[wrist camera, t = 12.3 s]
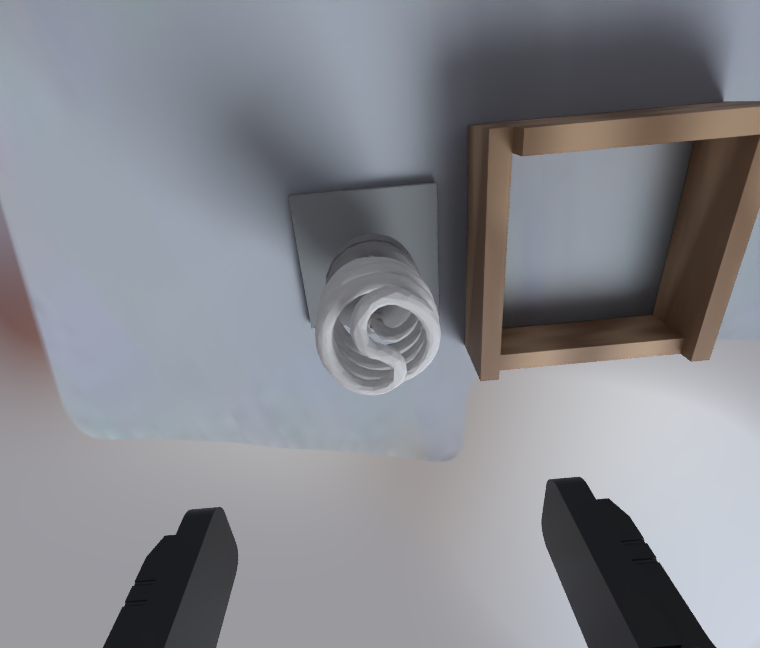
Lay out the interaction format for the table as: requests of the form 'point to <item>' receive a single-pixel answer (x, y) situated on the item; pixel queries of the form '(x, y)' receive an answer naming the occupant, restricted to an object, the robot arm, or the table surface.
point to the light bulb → (375, 316)
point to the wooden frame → (686, 250)
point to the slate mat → (364, 229)
